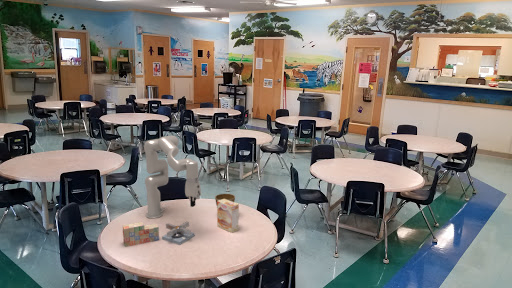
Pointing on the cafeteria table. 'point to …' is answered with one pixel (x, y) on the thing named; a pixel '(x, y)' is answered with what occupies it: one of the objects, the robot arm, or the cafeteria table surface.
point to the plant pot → (225, 197)
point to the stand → (179, 239)
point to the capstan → (178, 230)
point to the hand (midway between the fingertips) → (192, 206)
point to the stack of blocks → (139, 233)
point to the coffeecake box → (227, 215)
